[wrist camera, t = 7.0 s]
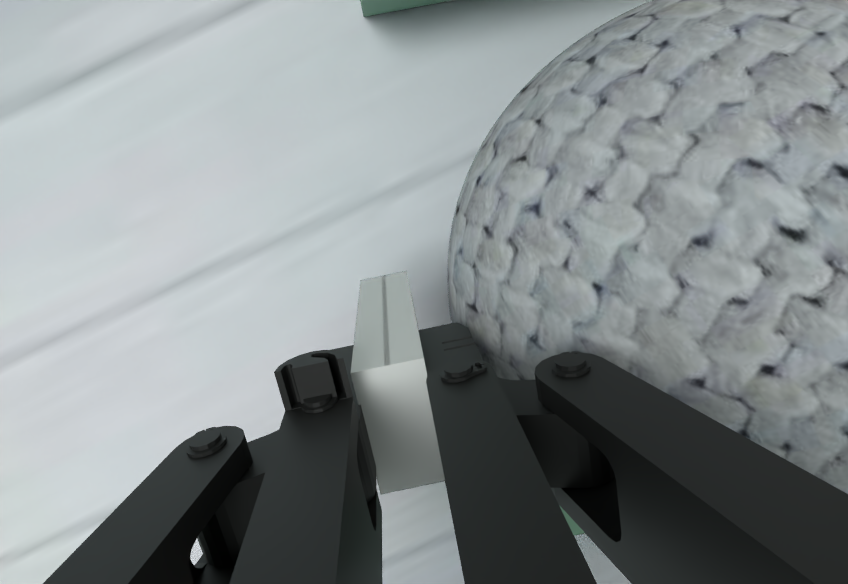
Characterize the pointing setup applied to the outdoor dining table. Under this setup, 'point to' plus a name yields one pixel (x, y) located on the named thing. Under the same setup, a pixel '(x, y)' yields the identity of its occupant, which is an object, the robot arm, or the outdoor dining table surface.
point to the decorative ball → (677, 217)
